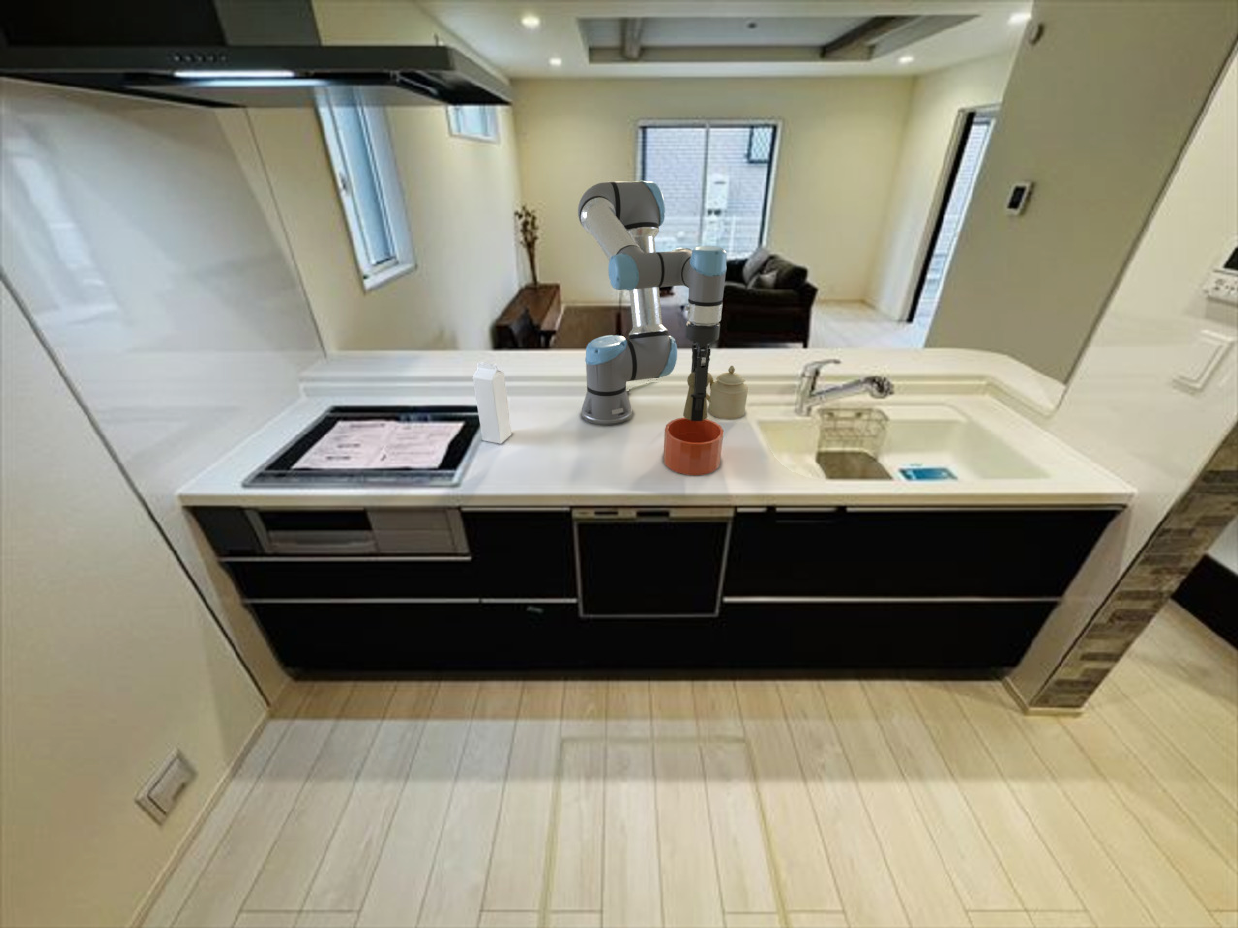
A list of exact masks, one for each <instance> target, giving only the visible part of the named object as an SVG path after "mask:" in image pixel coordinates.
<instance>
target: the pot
mask: <svg viewBox="0 0 1238 928" xmlns="http://www.w3.org/2000/svg"><path fill="white" fill-rule="evenodd" d="M663 436H664V439H663V455H662V457H663V462H664V464H665V466H666V467H667V468H668V469H670V470H671V471H673V472H675V473H678V474H682V475H686V476H704V475H708V474H711V473H713V472H714V471H716V470H717V469H718V468H720V467H719V466H720V465H721V457H722V456H721V455H722V449H723V439H724V429H723V427H722V426H721V425H720V424H718V423H717V422H715V421H713V420H710V419H708V418H706V419H705V420H702V421H691V420H688V419H686V418H685V417H684V416H683V417H679V418H675V419H673V420H670V421H669V422H668V423H667V424H665V428H664V435H663Z"/></svg>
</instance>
